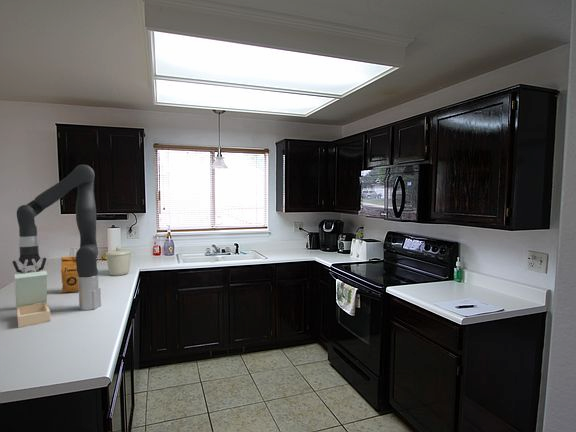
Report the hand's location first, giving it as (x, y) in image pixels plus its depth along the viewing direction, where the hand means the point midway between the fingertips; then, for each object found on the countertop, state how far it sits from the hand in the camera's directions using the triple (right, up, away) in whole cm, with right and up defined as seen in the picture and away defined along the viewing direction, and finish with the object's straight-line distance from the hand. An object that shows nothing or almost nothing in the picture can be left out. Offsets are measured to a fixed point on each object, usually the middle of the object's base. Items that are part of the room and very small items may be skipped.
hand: (30, 279), depth 172 cm
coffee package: (-6, -16, +44) cm, 47 cm away
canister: (0, -13, +90) cm, 91 cm away
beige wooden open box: (+5, -18, -4) cm, 20 cm away
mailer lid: (+3, -6, -3) cm, 7 cm away
